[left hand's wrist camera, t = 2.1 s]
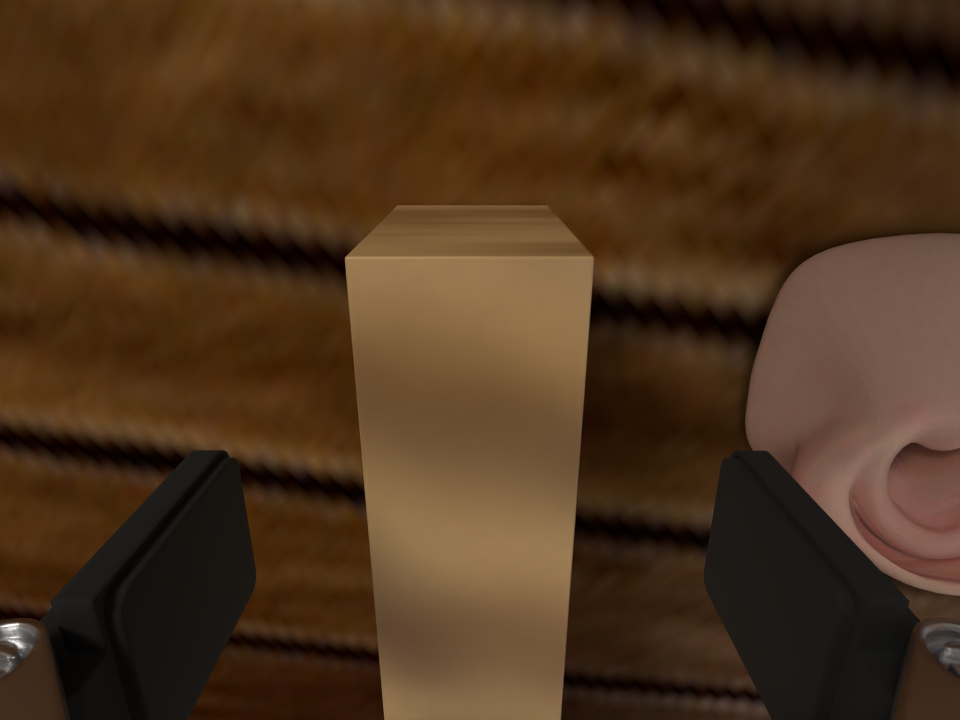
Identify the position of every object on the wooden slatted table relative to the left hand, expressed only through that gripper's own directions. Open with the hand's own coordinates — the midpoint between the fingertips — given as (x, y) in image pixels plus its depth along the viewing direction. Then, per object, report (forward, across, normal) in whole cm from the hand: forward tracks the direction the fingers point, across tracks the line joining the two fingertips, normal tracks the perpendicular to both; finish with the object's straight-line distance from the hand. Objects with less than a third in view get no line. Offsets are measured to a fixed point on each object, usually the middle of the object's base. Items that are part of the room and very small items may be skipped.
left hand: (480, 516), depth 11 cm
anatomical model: (+10, +15, -2) cm, 18 cm away
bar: (+10, 0, -29) cm, 31 cm away
